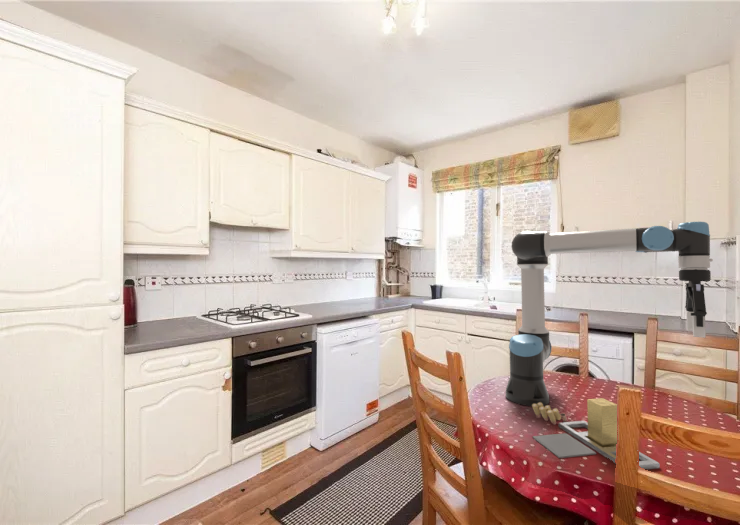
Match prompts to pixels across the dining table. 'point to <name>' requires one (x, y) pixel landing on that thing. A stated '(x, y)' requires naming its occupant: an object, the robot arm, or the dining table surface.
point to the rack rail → (606, 451)
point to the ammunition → (550, 413)
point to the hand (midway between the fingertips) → (695, 333)
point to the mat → (563, 445)
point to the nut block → (602, 422)
